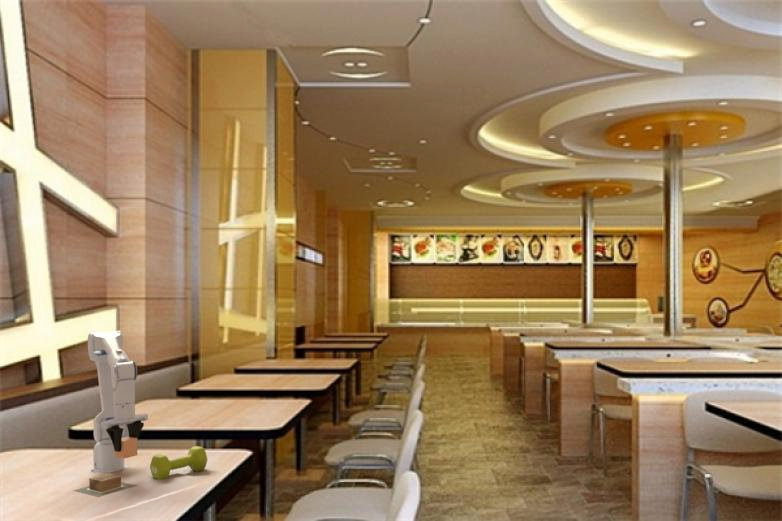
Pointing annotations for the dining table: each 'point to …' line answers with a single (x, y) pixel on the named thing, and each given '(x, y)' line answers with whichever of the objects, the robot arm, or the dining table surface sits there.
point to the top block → (127, 448)
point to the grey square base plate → (98, 494)
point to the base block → (105, 482)
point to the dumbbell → (178, 462)
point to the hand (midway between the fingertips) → (125, 449)
